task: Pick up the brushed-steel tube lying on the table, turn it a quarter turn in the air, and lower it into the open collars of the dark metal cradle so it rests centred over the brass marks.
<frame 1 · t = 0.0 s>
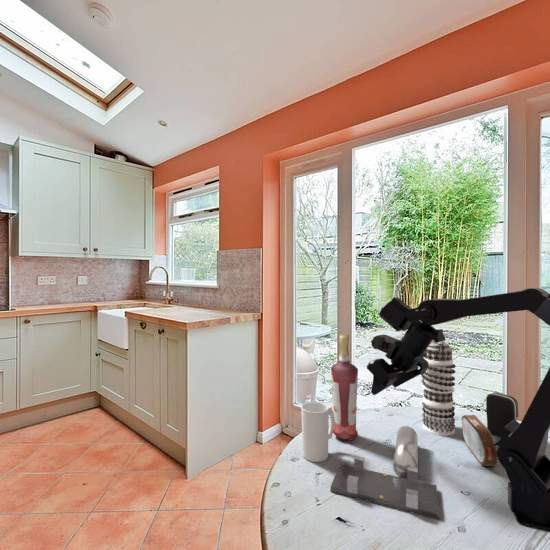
hand: (383, 389, 85), 15 cm above the table, tool tilted 35°, fingers open, 9 cm apart
liquor: (345, 437, 91), on the table
battery charger: (502, 436, 90), on the table
mug: (320, 454, 82), on the table
tube: (406, 461, 79), on the table
decorative candle: (438, 429, 95), on the table
cradle: (383, 490, 67), on the table
tin: (477, 456, 80), on the table
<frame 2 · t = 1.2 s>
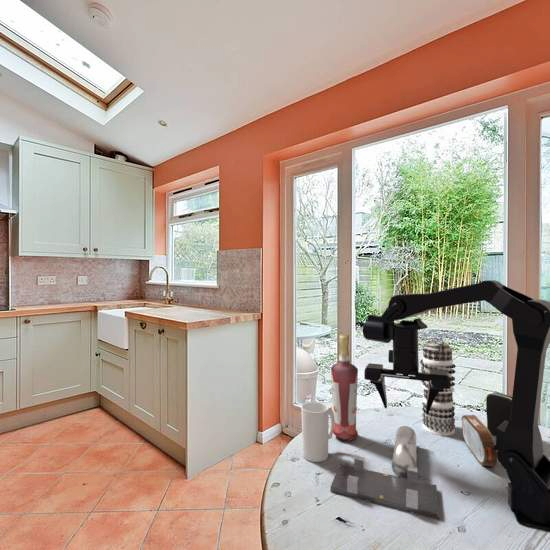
hand: (406, 410, 79), 12 cm above the table, tool pointing down, fingers open, 9 cm apart
tube: (406, 461, 79), on the table, tilted 7°
everything else where it was.
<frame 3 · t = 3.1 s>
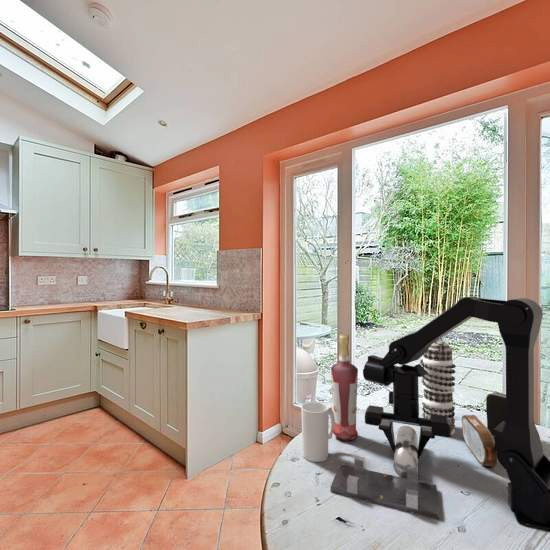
hand: (406, 455, 79), 1 cm above the table, tool pointing down, fingers closed on tube, 5 cm apart
tube: (406, 460, 79), on the table, touching gripper
everything else where it was.
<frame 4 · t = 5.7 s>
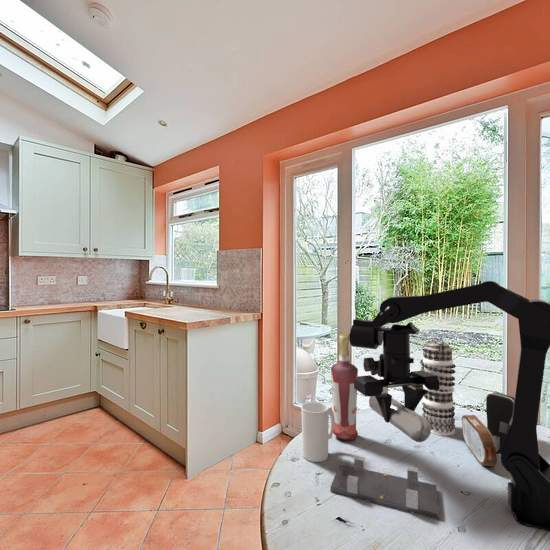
hand: (397, 420, 74), 11 cm above the table, tool pointing down, fingers closed on tube, 5 cm apart
tube: (397, 425, 74), point 10 cm above the table, touching gripper
everything else where it was.
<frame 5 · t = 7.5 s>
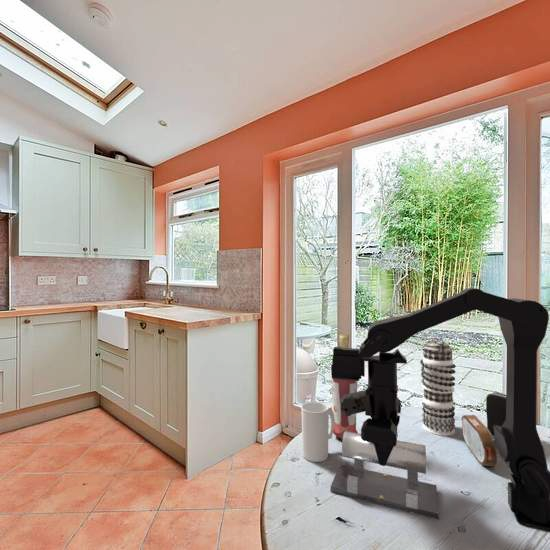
hand: (383, 458, 67), 7 cm above the table, tool pointing down, fingers closed on tube, 5 cm apart
tube: (383, 463, 67), point 6 cm above the table, touching gripper
everything else where it was.
when the fingers open (3 cm above the table, at t = 8.6 s): tube drops 1 cm, resting on cradle.
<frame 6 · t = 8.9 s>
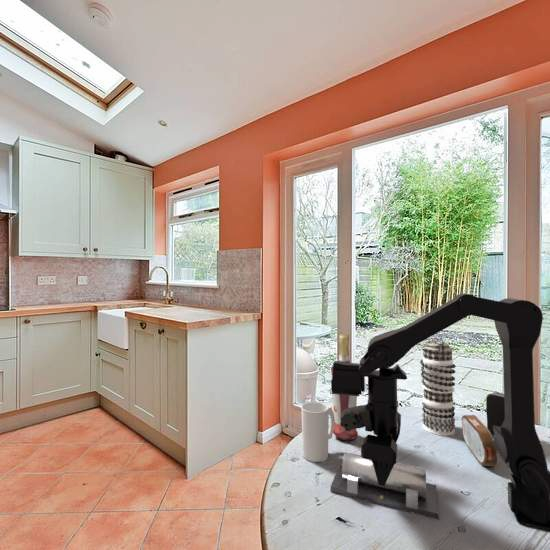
hand: (383, 473, 67), 3 cm above the table, tool pointing down, fingers open, 8 cm apart
tube: (383, 485, 67), point 1 cm above the table, touching cradle
everything else where it was.
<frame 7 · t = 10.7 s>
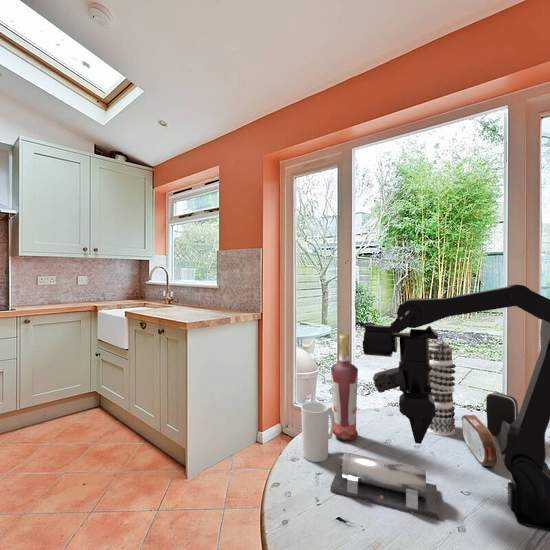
hand: (417, 432, 69), 11 cm above the table, tool pointing down, fingers open, 9 cm apart
nothing on the table moved.
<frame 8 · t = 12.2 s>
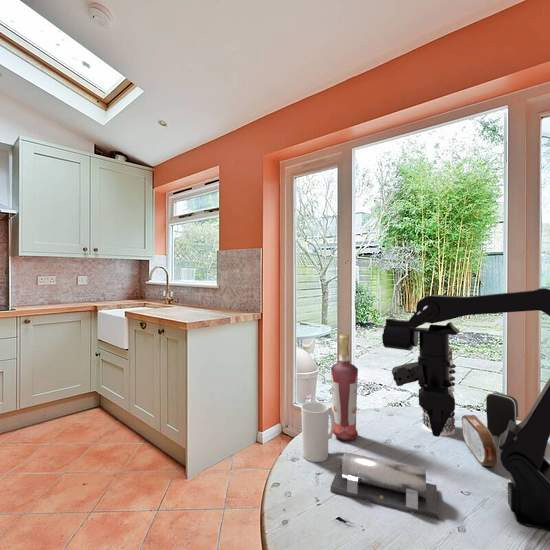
hand: (434, 426, 70), 12 cm above the table, tool pointing down, fingers open, 9 cm apart
nothing on the table moved.
at the end: tube 0.0 cm off-centre on the cradle, point 1.0 cm above the cradle's base; tube touching cradle; the gripper is holding nothing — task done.
